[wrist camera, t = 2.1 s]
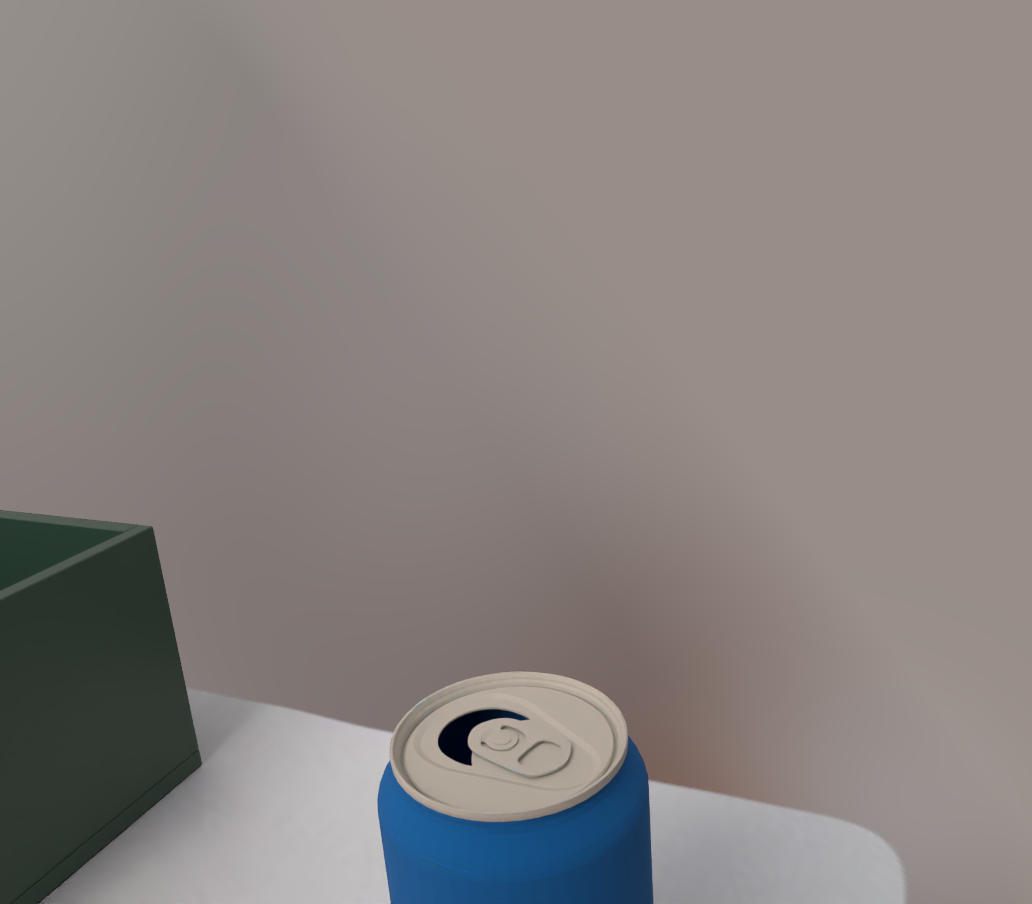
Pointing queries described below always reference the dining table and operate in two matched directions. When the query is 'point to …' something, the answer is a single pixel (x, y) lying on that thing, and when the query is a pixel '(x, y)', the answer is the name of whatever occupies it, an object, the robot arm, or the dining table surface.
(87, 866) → the dining table surface
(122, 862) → the dining table surface
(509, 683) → the beverage can
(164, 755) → the waste bin
